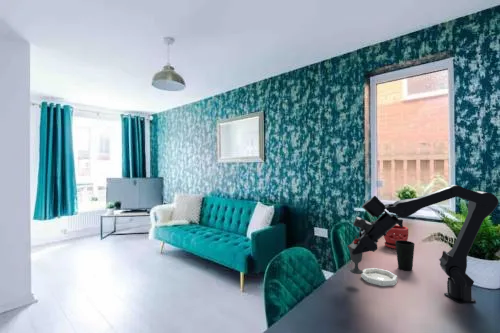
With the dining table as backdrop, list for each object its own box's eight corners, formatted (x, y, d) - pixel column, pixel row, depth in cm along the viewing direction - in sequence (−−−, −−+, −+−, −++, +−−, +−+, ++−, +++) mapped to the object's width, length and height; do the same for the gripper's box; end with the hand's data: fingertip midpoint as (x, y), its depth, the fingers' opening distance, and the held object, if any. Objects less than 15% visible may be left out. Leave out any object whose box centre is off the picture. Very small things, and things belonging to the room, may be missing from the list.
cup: (417, 272, 117) (417, 245, 117) (399, 271, 118) (398, 244, 118) (410, 265, 124) (410, 240, 124) (393, 264, 126) (392, 239, 126)
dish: (403, 284, 105) (403, 279, 105) (373, 286, 103) (373, 281, 103) (384, 272, 118) (383, 267, 118) (356, 273, 116) (356, 269, 116)
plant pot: (413, 250, 147) (413, 228, 147) (390, 250, 147) (390, 229, 147) (400, 243, 160) (400, 223, 160) (379, 243, 160) (378, 224, 160)
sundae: (355, 276, 102) (354, 237, 102) (344, 269, 109) (343, 233, 109) (369, 273, 104) (368, 236, 104) (358, 267, 110) (357, 232, 110)
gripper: (365, 207, 114) (338, 231, 118) (366, 214, 96) (335, 242, 100) (385, 226, 111) (358, 250, 115) (391, 237, 93) (358, 265, 97)
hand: (352, 251), depth 107 cm, fingers closed on sundae, 7 cm apart
